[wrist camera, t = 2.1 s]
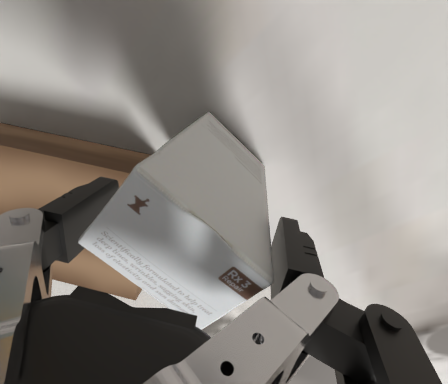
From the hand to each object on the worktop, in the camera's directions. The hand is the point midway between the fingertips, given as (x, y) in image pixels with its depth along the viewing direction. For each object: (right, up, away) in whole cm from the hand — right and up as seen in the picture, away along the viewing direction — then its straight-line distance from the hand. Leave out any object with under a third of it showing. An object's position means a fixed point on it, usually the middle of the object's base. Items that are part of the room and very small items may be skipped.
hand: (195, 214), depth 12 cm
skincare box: (+1, +4, +7) cm, 8 cm away
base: (-12, 0, +11) cm, 16 cm away
